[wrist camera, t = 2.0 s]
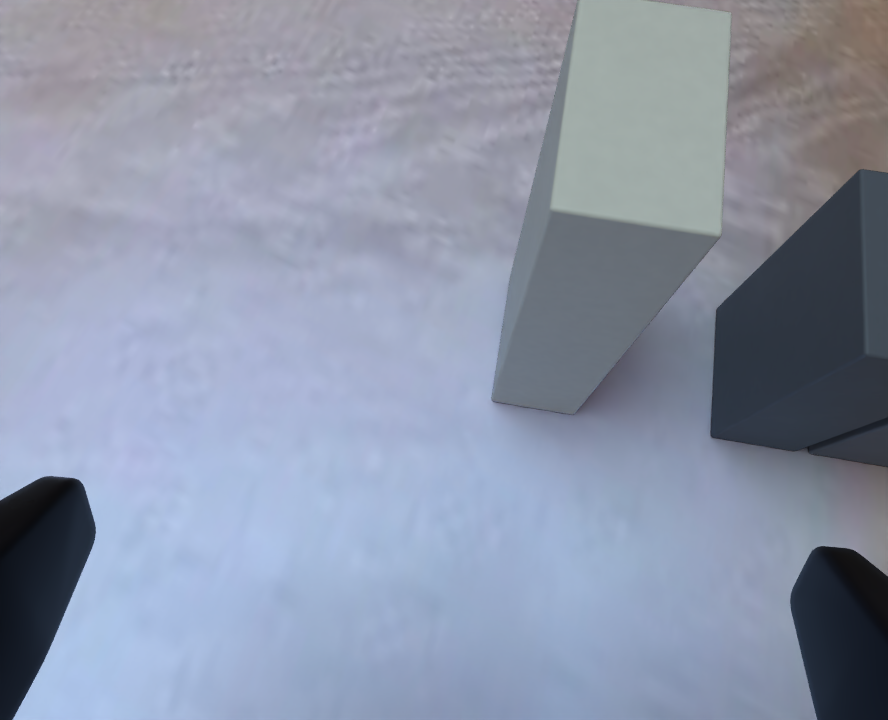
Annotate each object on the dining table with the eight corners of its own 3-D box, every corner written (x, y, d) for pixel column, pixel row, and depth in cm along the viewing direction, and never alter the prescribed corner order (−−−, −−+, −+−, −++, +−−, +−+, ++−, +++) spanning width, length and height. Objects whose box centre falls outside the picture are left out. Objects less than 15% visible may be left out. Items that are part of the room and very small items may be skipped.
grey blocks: (889, 335, 25) (1125, 207, 16) (894, 468, 23) (1158, 403, 15) (715, 307, 25) (859, 167, 17) (709, 437, 24) (865, 355, 15)
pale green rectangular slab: (588, 288, 25) (733, 10, 13) (574, 415, 24) (723, 236, 12) (510, 275, 26) (580, -12, 13) (490, 401, 24) (549, 209, 12)
